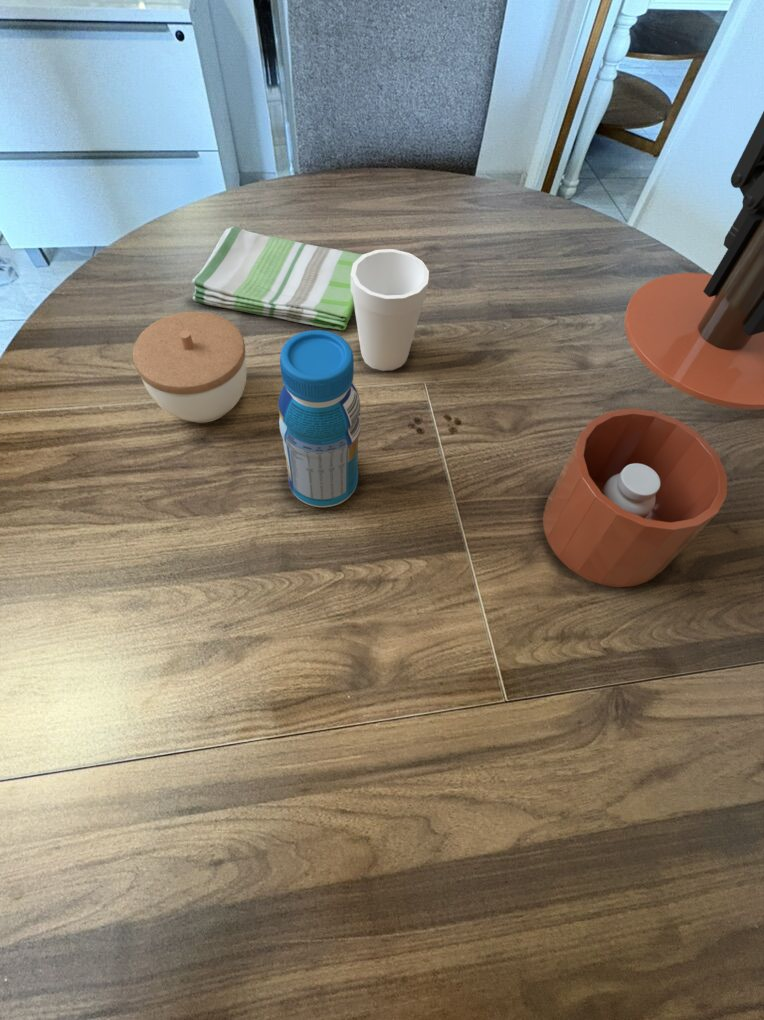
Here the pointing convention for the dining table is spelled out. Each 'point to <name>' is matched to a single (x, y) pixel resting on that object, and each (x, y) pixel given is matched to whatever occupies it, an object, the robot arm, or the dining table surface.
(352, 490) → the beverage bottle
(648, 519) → the jar
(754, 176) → the robot arm
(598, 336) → the dining table surface
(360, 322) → the foam cup
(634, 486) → the supplement bottle
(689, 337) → the lid
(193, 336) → the lidded bowl
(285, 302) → the dish towel
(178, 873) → the dining table surface
